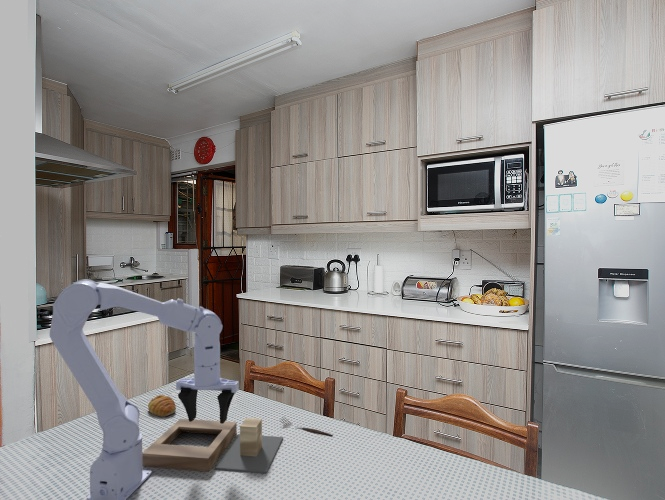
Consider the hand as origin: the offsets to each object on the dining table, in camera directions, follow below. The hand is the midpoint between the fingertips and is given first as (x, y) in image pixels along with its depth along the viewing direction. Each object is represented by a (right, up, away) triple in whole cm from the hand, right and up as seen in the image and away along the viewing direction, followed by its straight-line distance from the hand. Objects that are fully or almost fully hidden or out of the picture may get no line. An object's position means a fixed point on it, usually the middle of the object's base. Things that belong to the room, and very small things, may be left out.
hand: (207, 420), depth 83 cm
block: (+9, -9, +3) cm, 13 cm away
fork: (+22, -10, +14) cm, 28 cm away
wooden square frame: (-5, -9, +5) cm, 12 cm away
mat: (+9, -9, +3) cm, 14 cm away
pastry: (-23, -9, +25) cm, 35 cm away
